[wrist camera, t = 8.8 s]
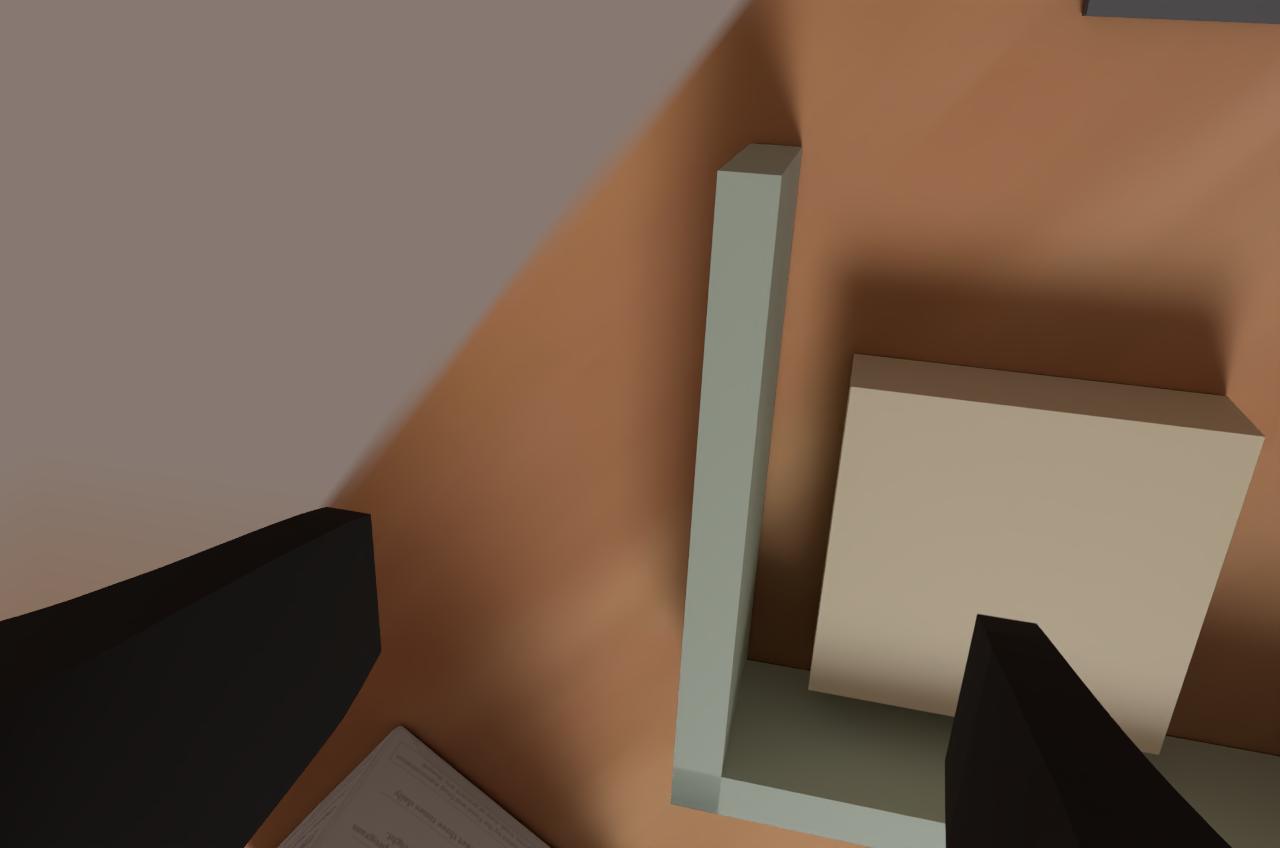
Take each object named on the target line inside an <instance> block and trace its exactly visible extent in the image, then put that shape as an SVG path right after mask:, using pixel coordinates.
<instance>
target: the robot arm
mask: <svg viewBox="0 0 1280 848" xmlns="http://www.w3.org/2000/svg"><path fill="white" fill-rule="evenodd" d="M380 653H381V639H380V627H379V614H378V601H377V588H376V576H375V563H374V550H373V538H372V525H371V514H366V513H360V512H354V511H348V510H342V509H336V508H330V507H324V508H321V509H317V510H313V511H310V512H306V513H303V514H300V515H297V516H294V517H292V518H289V519H286V520H283V521H280V522H278V523H275V524H272V525H269V526H267V527H264V528H262V529H259V530H257V531H254V532H251V533H249V534H246V535H243V536H241V537H238V538H236V539H233V540H231V541H228V542H225V543H223V544H220V545H218V546H215V547H213V548H210V549H207V550H205V551H202V552H200V553H197V554H195V555H192V556H190V557H187V558H184V559H182V560H180V561H177V562H174V563H172V564H169V565H166V566H164V567H161V568H158V569H156V570H153V571H150V572H148V573H145V574H142V575H139V576H136V577H134V578H131V579H128V580H125V581H122V582H119V583H116V584H113V585H111V586H108V587H105V588H102V589H99V590H97V591H94V592H91V593H88V594H85V595H83V596H80V597H77V598H74V599H71V600H68V601H65V602H62V603H59V604H56V605H53V606H50V607H46V608H44V609H40V610H37V611H34V612H30V613H27V614H24V615H20V616H17V617H13V618H10V619H6V620H3V621H0V848H244V847H245V846H246V844H247V843H248V842H249V840H250V839H251V838H252V837H253V835H254V834H255V833H256V831H257V830H258V829H259V828H260V826H261V825H262V824H263V822H264V821H265V820H266V819H267V817H268V816H269V815H270V813H271V812H272V811H273V810H274V808H275V807H276V806H277V804H278V803H279V802H280V801H281V799H282V798H283V797H284V795H285V794H286V793H287V792H288V790H289V789H290V788H291V786H292V785H293V784H294V783H295V781H296V780H297V779H298V777H299V776H300V775H301V774H302V772H303V771H304V770H305V768H306V767H307V766H308V764H309V763H310V762H311V761H312V759H313V758H314V757H315V755H316V754H317V753H318V751H319V750H320V749H321V747H322V746H323V745H324V743H325V742H326V741H327V740H328V738H329V737H330V736H331V734H332V733H333V732H334V730H335V729H336V727H337V726H338V725H339V723H340V722H341V721H342V719H343V718H344V716H345V714H346V713H347V711H348V709H349V708H350V706H351V704H352V703H353V701H354V699H355V698H356V696H357V694H358V693H359V691H360V689H361V688H362V686H363V684H364V682H365V680H366V678H367V677H368V675H369V673H370V671H371V669H372V667H373V666H374V664H375V662H376V660H377V658H378V656H379V655H380ZM945 832H946V848H1232V847H1231V846H1230V845H1229V844H1228V843H1227V842H1226V841H1225V840H1224V839H1223V838H1222V837H1221V836H1220V835H1219V834H1218V833H1217V832H1216V831H1215V830H1214V829H1213V828H1212V827H1211V826H1210V825H1209V824H1208V823H1207V822H1206V821H1205V820H1204V819H1203V817H1202V816H1201V815H1200V814H1199V813H1198V812H1197V811H1196V810H1195V809H1194V808H1193V807H1192V806H1191V805H1190V804H1189V803H1188V802H1187V801H1186V800H1185V799H1184V798H1183V797H1182V796H1181V795H1180V794H1179V793H1178V791H1177V790H1176V789H1175V788H1174V787H1173V786H1172V785H1171V784H1170V783H1169V782H1168V781H1167V780H1166V779H1165V777H1164V776H1163V775H1162V774H1161V773H1160V772H1159V771H1158V770H1157V769H1156V768H1155V766H1154V765H1153V764H1152V763H1151V762H1150V761H1149V760H1148V759H1147V758H1146V756H1145V755H1144V754H1143V753H1142V752H1141V751H1140V750H1139V748H1138V747H1137V746H1136V745H1135V744H1134V743H1133V742H1132V740H1131V739H1130V738H1129V737H1128V736H1127V734H1126V733H1125V732H1124V731H1123V730H1122V729H1121V727H1120V726H1119V725H1118V724H1117V723H1116V722H1115V720H1114V719H1113V718H1112V717H1111V716H1110V714H1109V713H1108V712H1107V711H1106V709H1105V708H1104V707H1103V706H1102V705H1101V703H1100V702H1099V701H1098V700H1097V699H1096V697H1095V696H1094V695H1093V694H1092V692H1091V691H1090V690H1089V689H1088V687H1087V686H1086V685H1085V684H1084V682H1083V681H1082V680H1081V679H1080V677H1079V676H1078V675H1077V674H1076V672H1075V671H1074V670H1073V669H1072V667H1071V666H1070V665H1069V663H1068V662H1067V661H1066V660H1065V658H1064V657H1063V656H1062V655H1061V653H1060V652H1059V651H1058V649H1057V648H1056V647H1055V646H1054V644H1053V643H1052V642H1051V641H1050V639H1049V638H1048V637H1047V636H1046V634H1045V633H1044V632H1043V631H1042V629H1041V628H1040V627H1039V626H1038V625H1037V623H1031V622H1024V621H1018V620H1012V619H1006V618H1000V617H994V616H988V615H982V614H977V617H976V621H975V626H974V631H973V635H972V640H971V644H970V649H969V653H968V658H967V662H966V667H965V671H964V676H963V680H962V685H961V690H960V694H959V699H958V703H957V708H956V712H955V717H954V721H953V726H952V730H951V735H950V740H949V744H948V749H947V753H946V758H945Z"/></svg>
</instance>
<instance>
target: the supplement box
mask: <svg viewBox="0 0 1280 848" xmlns="http://www.w3.org/2000/svg"><path fill="white" fill-rule="evenodd" d="M277 848H550V847H549V846H548V845H547V844H545V843H544V842H543V841H542V840H541V839H539V838H538V837H537V836H536V835H534V834H533V833H532V832H531V831H529V830H528V829H527V828H526V827H525V826H523V825H522V824H521V823H520V822H518V821H517V820H516V819H515V818H513V817H512V816H511V815H510V814H509V813H507V812H506V811H505V810H504V809H502V808H501V807H500V806H499V805H498V804H497V803H495V802H494V801H493V800H492V799H491V798H489V797H488V796H487V795H486V794H484V793H483V792H482V791H481V790H479V789H478V788H477V787H476V786H474V785H473V784H472V783H471V782H469V781H468V780H467V779H466V778H464V777H463V776H462V775H461V774H460V773H458V772H457V771H456V770H455V769H454V768H452V767H451V766H450V765H449V764H448V763H446V762H445V761H444V760H443V759H442V758H440V757H439V756H438V755H437V754H435V753H434V752H433V751H432V750H431V749H429V748H428V747H427V746H426V745H424V744H423V743H422V742H421V741H420V740H418V739H417V738H416V737H415V736H414V735H412V734H411V733H410V732H409V731H408V730H406V729H405V728H404V727H403V726H398V727H397V728H395V729H394V730H392V731H391V732H390V734H389V735H388V736H387V737H386V738H385V739H384V740H383V741H382V742H381V743H380V744H379V745H378V746H377V747H376V748H375V749H374V750H373V751H372V752H371V753H370V754H369V755H368V756H367V757H366V758H365V759H364V760H363V761H362V762H361V763H360V764H359V765H358V766H357V767H356V768H355V769H354V770H353V771H352V772H351V773H350V774H349V775H348V776H347V777H346V778H345V779H344V780H343V781H342V782H341V783H340V784H339V785H338V786H337V787H336V788H335V789H334V790H333V791H332V792H331V793H330V794H329V795H328V796H327V797H326V798H325V799H324V800H323V801H322V802H321V803H320V804H319V805H318V806H317V807H316V808H315V809H314V810H313V811H312V812H311V813H310V814H309V815H308V816H307V817H306V818H305V819H304V820H303V821H302V822H301V823H300V824H299V825H298V826H297V828H296V829H295V830H294V831H293V832H292V833H291V834H290V835H289V836H288V837H287V838H286V839H285V840H284V841H283V842H282V843H281V844H280V845H279V846H278V847H277Z"/></svg>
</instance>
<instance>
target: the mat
mask: <svg viewBox="0 0 1280 848" xmlns="http://www.w3.org/2000/svg"><path fill="white" fill-rule="evenodd" d="M1082 16H1103V17H1127V18H1150V19H1174V20H1197V21H1221V22H1245V23H1268V24H1280V0H1085V3H1084V8H1083V12H1082Z"/></svg>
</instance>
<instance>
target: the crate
mask: <svg viewBox="0 0 1280 848" xmlns="http://www.w3.org/2000/svg"><path fill="white" fill-rule="evenodd" d="M801 155H802V147H796V146H782V145H768V144H754V143H750V144H749V145H748V146H747V147H745V148H744V149H743V150H742V151H740V152H739V153H738V154H737V155H736V156H734V157H733V158H732V159H731V160H730V161H728V162H727V163H726V164H725V165H724V166H722V167H721V168H720V169H719V170H718V171H717V184H716V198H715V211H714V225H713V238H712V252H711V265H710V279H709V292H708V306H707V319H706V333H705V346H704V360H703V373H702V387H701V400H700V414H699V427H698V441H697V454H696V468H695V481H694V495H693V508H692V522H691V535H690V548H689V562H688V575H687V589H686V602H685V616H684V629H683V643H682V656H681V670H680V683H679V697H678V710H677V724H676V737H675V751H674V764H673V778H672V791H671V804H673V805H678V806H682V807H687V808H692V809H696V810H701V811H706V812H710V813H715V814H719V815H724V816H729V817H733V818H738V819H743V820H747V821H752V822H756V823H761V824H766V825H770V826H775V827H780V828H784V829H789V830H794V831H798V832H803V833H807V834H812V835H817V836H821V837H826V838H831V839H835V840H840V841H844V842H849V843H854V844H858V845H863V846H868V847H872V848H946V832H945V758H946V753H947V749H948V744H949V740H950V735H951V730H952V726H953V721H954V717H955V712H956V708H957V703H958V699H959V694H960V690H961V685H962V680H963V676H964V671H965V667H966V662H967V658H968V653H969V649H970V644H971V640H972V635H973V631H974V626H975V621H976V617H977V614H982V615H988V616H994V617H1000V618H1006V619H1012V620H1018V621H1024V622H1031V623H1037V625H1038V626H1039V627H1040V628H1041V629H1042V631H1043V632H1044V633H1045V634H1046V636H1047V637H1048V638H1049V639H1050V641H1051V642H1052V643H1053V644H1054V646H1055V647H1056V648H1057V649H1058V651H1059V652H1060V653H1061V655H1062V656H1063V657H1064V658H1065V660H1066V661H1067V662H1068V663H1069V665H1070V666H1071V667H1072V669H1073V670H1074V671H1075V672H1076V674H1077V675H1078V676H1079V677H1080V679H1081V680H1082V681H1083V682H1084V684H1085V685H1086V686H1087V687H1088V689H1089V690H1090V691H1091V692H1092V694H1093V695H1094V696H1095V697H1096V699H1097V700H1098V701H1099V702H1100V703H1101V705H1102V706H1103V707H1104V708H1105V709H1106V711H1107V712H1108V713H1109V714H1110V716H1111V717H1112V718H1113V719H1114V720H1115V722H1116V723H1117V724H1118V725H1119V726H1120V727H1121V729H1122V730H1123V731H1124V732H1125V733H1126V734H1127V736H1128V737H1129V738H1130V739H1131V740H1132V742H1133V743H1134V744H1135V745H1136V746H1137V747H1138V748H1139V750H1140V751H1141V752H1142V753H1143V754H1144V755H1145V756H1146V758H1147V759H1148V760H1149V761H1150V762H1151V763H1152V764H1153V765H1154V766H1155V768H1156V769H1157V770H1158V771H1159V772H1160V773H1161V774H1162V775H1163V776H1164V777H1165V779H1166V780H1167V781H1168V782H1169V783H1170V784H1171V785H1172V786H1173V787H1174V788H1175V789H1176V790H1177V791H1178V793H1179V794H1180V795H1181V796H1182V797H1183V798H1184V799H1185V800H1186V801H1187V802H1188V803H1189V804H1190V805H1191V806H1192V807H1193V808H1194V809H1195V810H1196V811H1197V812H1198V813H1199V814H1200V815H1201V816H1202V817H1203V819H1204V820H1205V821H1206V822H1207V823H1208V824H1209V825H1210V826H1211V827H1212V828H1213V829H1214V830H1215V831H1216V832H1217V833H1218V834H1219V835H1220V836H1221V837H1222V838H1223V839H1224V840H1225V841H1226V842H1227V843H1228V844H1229V845H1230V846H1231V847H1232V848H1280V756H1274V755H1269V754H1263V753H1258V752H1252V751H1247V750H1241V749H1236V748H1230V747H1225V746H1219V745H1214V744H1208V743H1203V742H1197V741H1192V740H1186V739H1181V738H1175V737H1170V736H1165V735H1166V732H1167V729H1168V726H1169V723H1170V720H1171V717H1172V714H1173V711H1174V708H1175V705H1176V702H1177V699H1178V696H1179V693H1180V690H1181V687H1182V684H1183V681H1184V678H1185V675H1186V672H1187V669H1188V666H1189V663H1190V660H1191V658H1192V655H1193V652H1194V649H1195V646H1196V643H1197V640H1198V637H1199V634H1200V631H1201V628H1202V625H1203V622H1204V619H1205V616H1206V613H1207V610H1208V607H1209V604H1210V601H1211V598H1212V595H1213V592H1214V589H1215V586H1216V583H1217V580H1218V577H1219V574H1220V571H1221V568H1222V565H1223V562H1224V559H1225V556H1226V553H1227V550H1228V547H1229V544H1230V541H1231V538H1232V535H1233V532H1234V529H1235V526H1236V523H1237V520H1238V517H1239V514H1240V511H1241V508H1242V505H1243V502H1244V499H1245V496H1246V493H1247V490H1248V487H1249V484H1250V481H1251V478H1252V475H1253V472H1254V469H1255V466H1256V463H1257V460H1258V457H1259V454H1260V451H1261V448H1262V445H1263V442H1264V439H1265V436H1264V435H1263V434H1262V433H1261V432H1260V431H1259V430H1258V429H1257V428H1256V426H1255V425H1254V424H1253V423H1252V422H1251V421H1250V420H1249V419H1248V418H1247V417H1246V416H1245V415H1244V414H1243V413H1242V412H1241V410H1240V409H1239V408H1238V407H1237V406H1236V405H1235V404H1234V403H1233V402H1232V401H1231V400H1230V399H1229V398H1228V397H1227V396H1220V395H1211V394H1202V393H1194V392H1185V391H1176V390H1167V389H1159V388H1150V387H1141V386H1132V385H1124V384H1115V383H1106V382H1097V381H1089V380H1080V379H1071V378H1062V377H1054V376H1045V375H1036V374H1028V373H1019V372H1010V371H1001V370H993V369H984V368H975V367H966V366H958V365H949V364H940V363H931V362H923V361H914V360H905V359H896V358H888V357H879V356H870V355H861V354H854V358H853V365H852V372H851V379H850V386H849V393H848V400H847V408H846V415H845V422H844V429H843V436H842V443H841V450H840V457H839V464H838V472H837V479H836V486H835V493H834V500H833V507H832V514H831V521H830V529H829V536H828V543H827V550H826V557H825V564H824V571H823V578H822V585H821V593H820V600H819V607H818V614H817V621H816V628H815V635H814V644H813V652H812V661H811V669H810V671H807V670H801V669H796V668H790V667H785V666H779V665H774V664H768V663H763V662H757V661H752V660H747V656H748V646H749V637H750V628H751V619H752V609H753V600H754V591H755V582H756V572H757V563H758V554H759V544H760V535H761V526H762V517H763V507H764V498H765V489H766V479H767V470H768V461H769V452H770V442H771V433H772V424H773V414H774V405H775V396H776V387H777V377H778V368H779V359H780V350H781V340H782V331H783V322H784V312H785V303H786V294H787V285H788V275H789V266H790V257H791V247H792V238H793V229H794V220H795V210H796V201H797V192H798V182H799V173H800V164H801Z"/></svg>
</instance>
